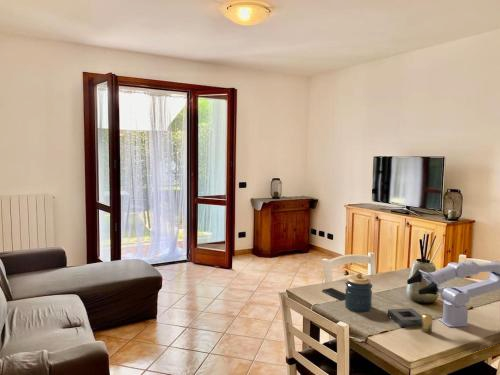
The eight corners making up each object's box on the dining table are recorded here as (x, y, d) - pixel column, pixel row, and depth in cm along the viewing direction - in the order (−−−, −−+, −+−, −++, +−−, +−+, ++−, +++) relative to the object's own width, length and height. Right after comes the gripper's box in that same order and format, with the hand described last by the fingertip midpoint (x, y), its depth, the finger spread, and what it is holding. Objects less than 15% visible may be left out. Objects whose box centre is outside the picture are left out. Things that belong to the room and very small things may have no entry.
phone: (340, 299, 197) (321, 290, 210) (340, 301, 197) (321, 292, 210) (351, 296, 201) (331, 287, 214) (351, 298, 201) (331, 289, 214)
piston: (428, 328, 165) (428, 313, 165) (433, 333, 162) (434, 317, 161) (419, 329, 165) (420, 313, 164) (424, 333, 161) (425, 317, 160)
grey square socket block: (411, 314, 180) (411, 308, 180) (426, 325, 169) (426, 319, 168) (387, 315, 179) (387, 309, 179) (400, 327, 167) (401, 320, 167)
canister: (373, 313, 181) (374, 278, 179) (345, 311, 183) (346, 276, 182) (370, 303, 194) (371, 269, 192) (344, 301, 196) (345, 268, 195)
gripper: (428, 261, 173) (402, 270, 170) (452, 278, 160) (424, 289, 157) (428, 273, 175) (403, 283, 173) (451, 291, 162) (424, 302, 160)
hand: (413, 287), depth 165 cm, fingers open, 7 cm apart
